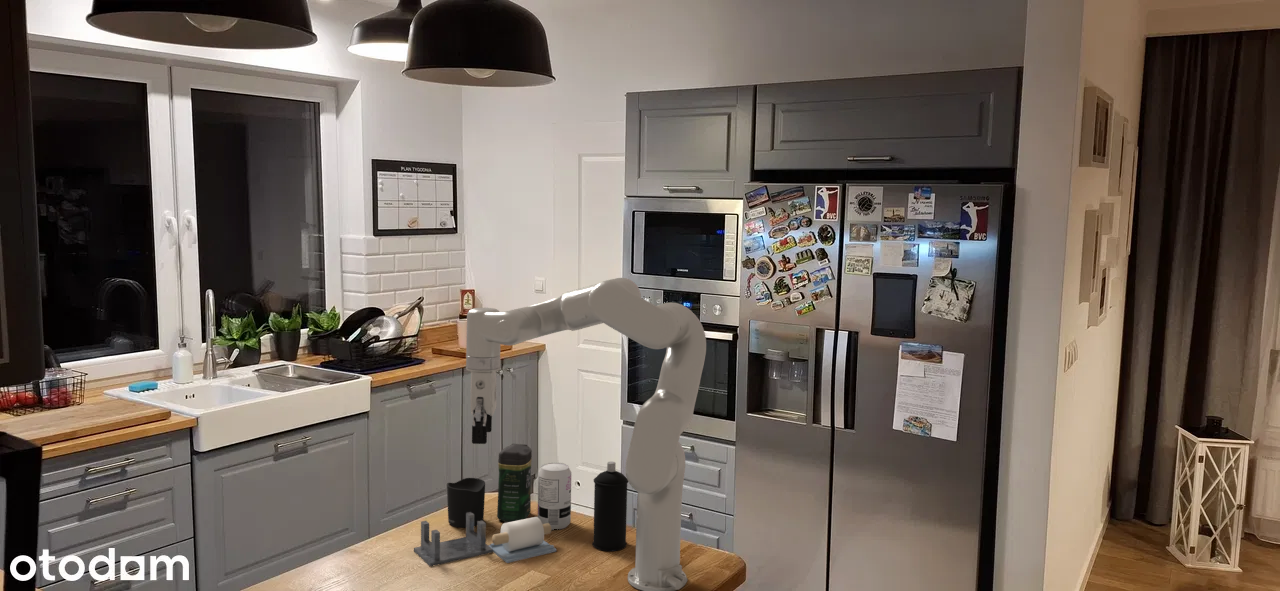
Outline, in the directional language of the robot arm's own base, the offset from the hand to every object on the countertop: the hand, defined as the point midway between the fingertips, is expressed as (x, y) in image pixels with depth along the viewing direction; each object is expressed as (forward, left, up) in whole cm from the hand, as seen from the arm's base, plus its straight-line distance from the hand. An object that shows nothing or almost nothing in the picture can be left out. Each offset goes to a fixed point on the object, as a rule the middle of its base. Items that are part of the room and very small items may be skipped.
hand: (481, 437), depth 195 cm
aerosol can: (-11, -28, -27) cm, 41 cm away
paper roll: (-3, -9, -23) cm, 25 cm away
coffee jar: (+17, -17, -27) cm, 36 cm away
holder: (+4, +5, -27) cm, 28 cm away
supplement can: (+7, -23, -27) cm, 36 cm away
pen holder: (+20, -5, -27) cm, 34 cm away
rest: (-3, -9, -27) cm, 29 cm away
